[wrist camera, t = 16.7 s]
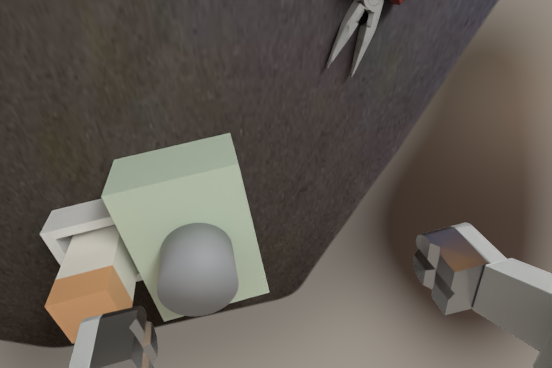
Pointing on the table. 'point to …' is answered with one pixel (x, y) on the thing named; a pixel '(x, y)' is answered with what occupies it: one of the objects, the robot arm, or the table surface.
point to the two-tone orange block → (92, 279)
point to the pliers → (372, 4)
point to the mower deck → (176, 226)
